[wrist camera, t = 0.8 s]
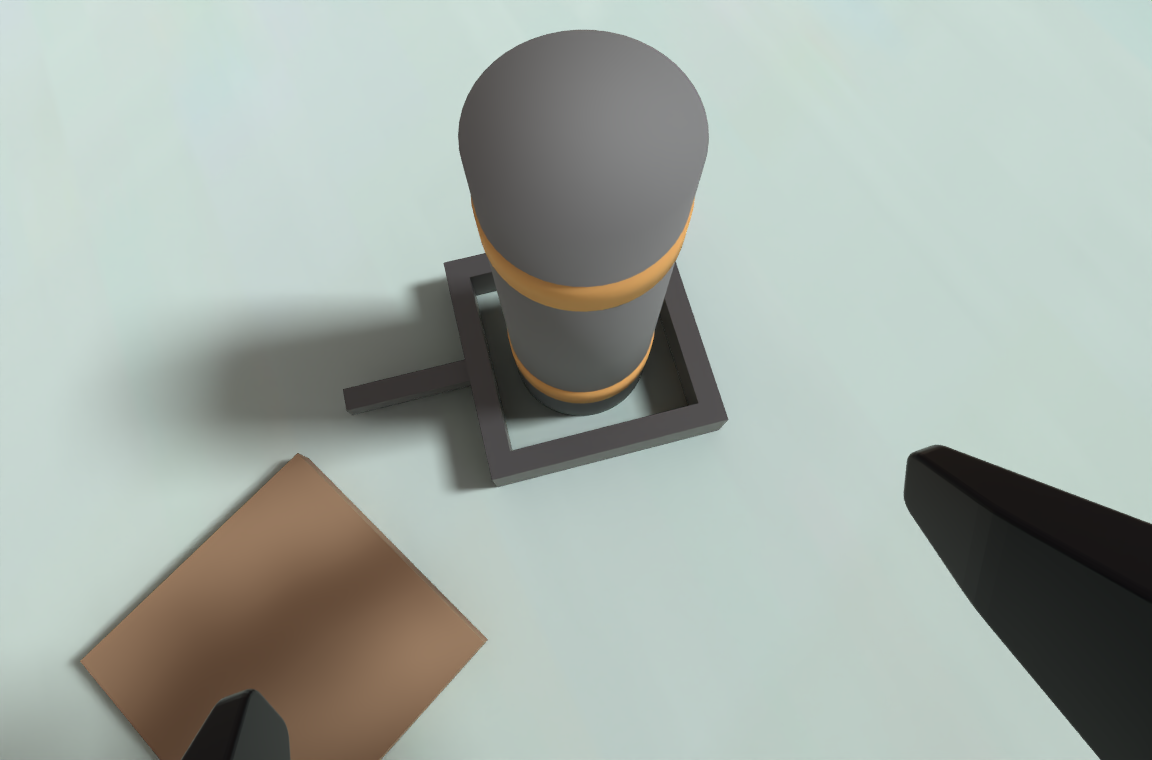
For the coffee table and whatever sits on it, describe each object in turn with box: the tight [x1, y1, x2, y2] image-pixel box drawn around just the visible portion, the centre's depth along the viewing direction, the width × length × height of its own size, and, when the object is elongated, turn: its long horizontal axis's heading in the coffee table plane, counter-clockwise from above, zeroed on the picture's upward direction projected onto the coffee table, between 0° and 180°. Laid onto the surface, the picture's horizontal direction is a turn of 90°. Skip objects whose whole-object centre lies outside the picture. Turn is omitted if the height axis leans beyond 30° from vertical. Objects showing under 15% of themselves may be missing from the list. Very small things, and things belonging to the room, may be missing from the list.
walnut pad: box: [80, 453, 488, 760], centre depth 22 cm, size 9×9×1 cm
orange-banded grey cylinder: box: [458, 30, 709, 416], centre depth 19 cm, size 5×5×13 cm
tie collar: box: [343, 253, 728, 487], centre depth 25 cm, size 8×13×2 cm, turn 105°
